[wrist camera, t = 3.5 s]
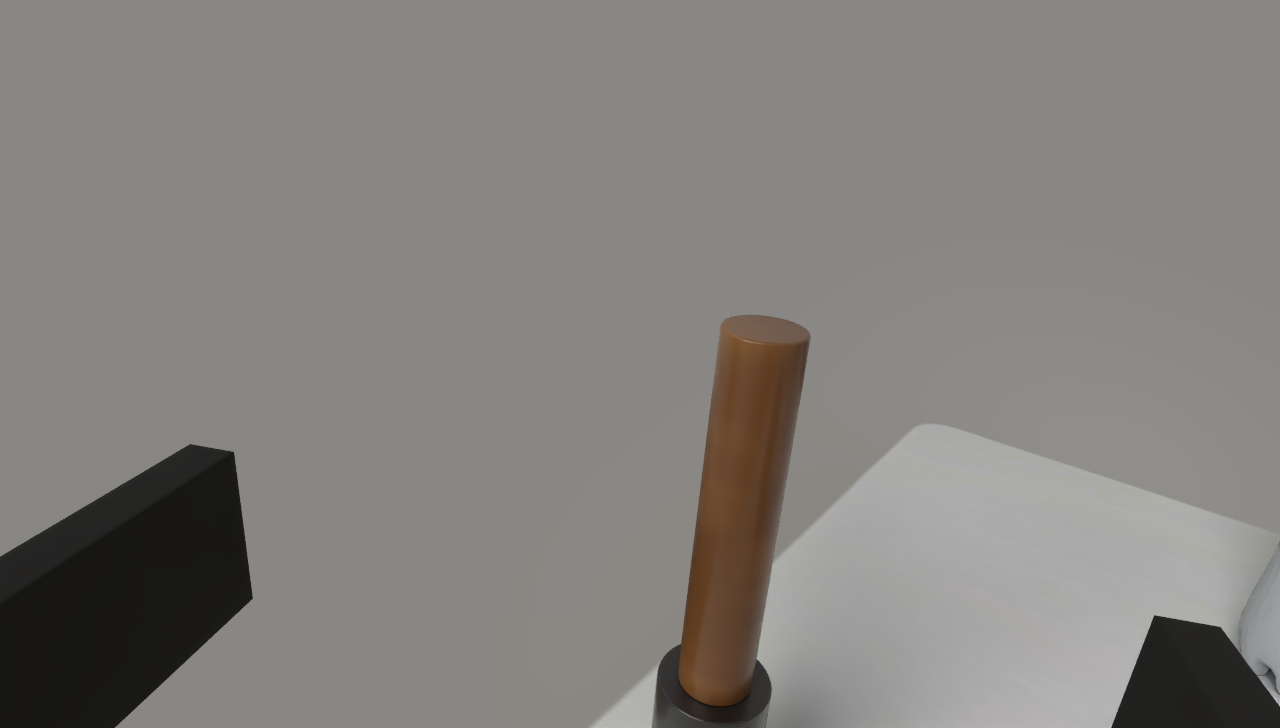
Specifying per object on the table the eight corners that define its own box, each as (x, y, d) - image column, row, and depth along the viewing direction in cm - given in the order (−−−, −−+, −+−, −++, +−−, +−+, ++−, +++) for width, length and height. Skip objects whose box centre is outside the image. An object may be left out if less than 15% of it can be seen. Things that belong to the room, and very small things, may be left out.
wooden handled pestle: (650, 876, 28) (714, 351, 20) (635, 779, 31) (684, 305, 24) (759, 866, 28) (858, 354, 21) (730, 772, 32) (807, 308, 25)
